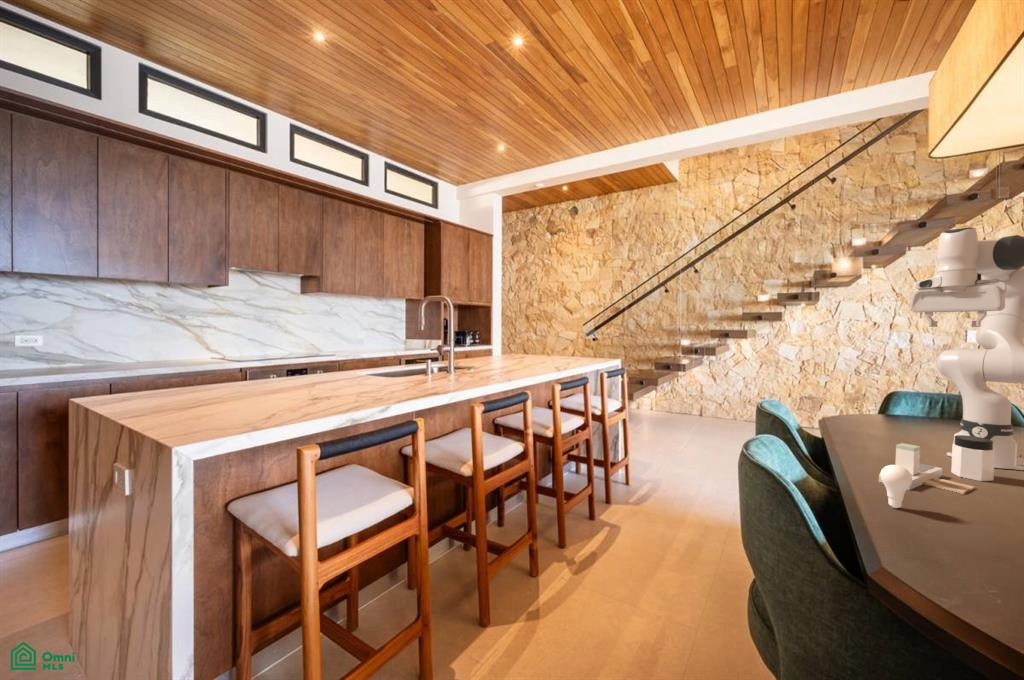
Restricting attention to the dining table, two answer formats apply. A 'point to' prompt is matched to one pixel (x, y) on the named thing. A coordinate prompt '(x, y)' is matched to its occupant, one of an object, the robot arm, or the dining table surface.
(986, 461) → the jar
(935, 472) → the power strip
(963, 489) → the coaster
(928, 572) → the dining table surface
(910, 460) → the block
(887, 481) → the lightbulb
